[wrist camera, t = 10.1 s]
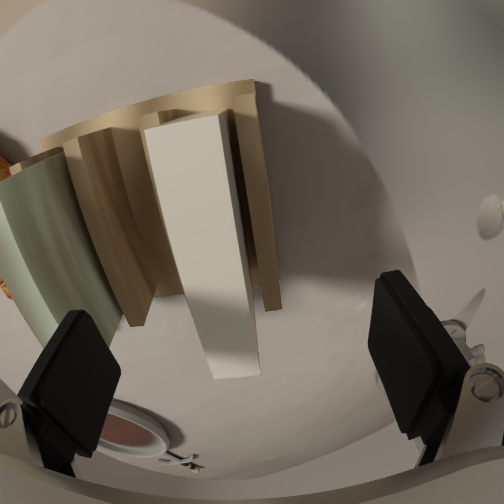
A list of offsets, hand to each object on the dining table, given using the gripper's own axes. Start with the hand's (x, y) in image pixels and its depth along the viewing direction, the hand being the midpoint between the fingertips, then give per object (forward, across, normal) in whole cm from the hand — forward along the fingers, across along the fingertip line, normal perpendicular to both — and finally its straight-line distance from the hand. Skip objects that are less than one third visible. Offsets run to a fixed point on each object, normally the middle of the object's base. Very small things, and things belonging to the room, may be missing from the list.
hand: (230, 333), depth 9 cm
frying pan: (+14, +21, +34) cm, 42 cm away
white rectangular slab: (+11, +1, -1) cm, 11 cm away
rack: (+12, +5, -1) cm, 13 cm away
